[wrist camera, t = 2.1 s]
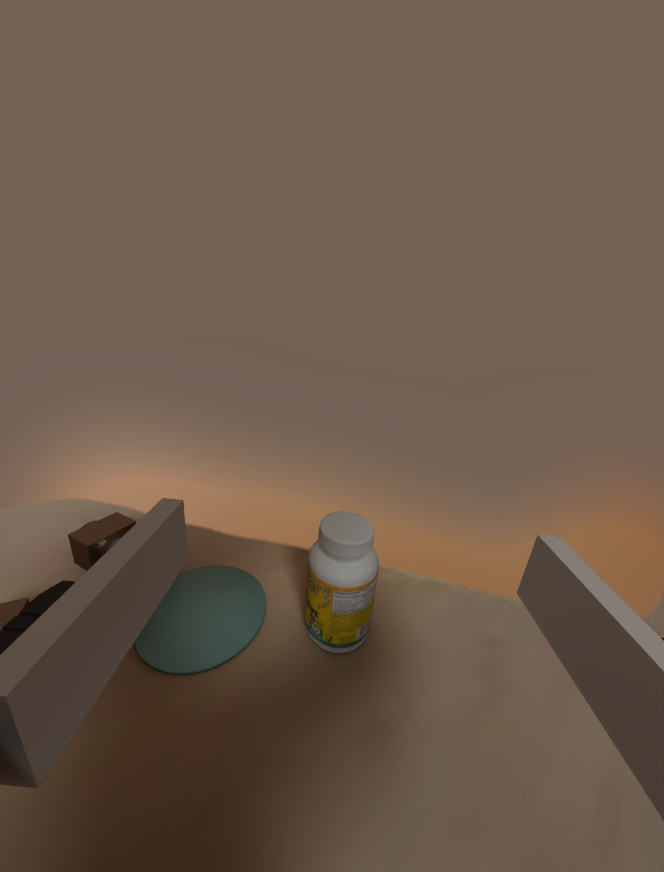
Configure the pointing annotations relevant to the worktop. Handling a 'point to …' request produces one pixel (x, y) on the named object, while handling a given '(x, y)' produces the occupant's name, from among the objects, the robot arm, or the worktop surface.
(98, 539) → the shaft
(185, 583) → the disc
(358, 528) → the supplement bottle
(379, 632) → the worktop surface
